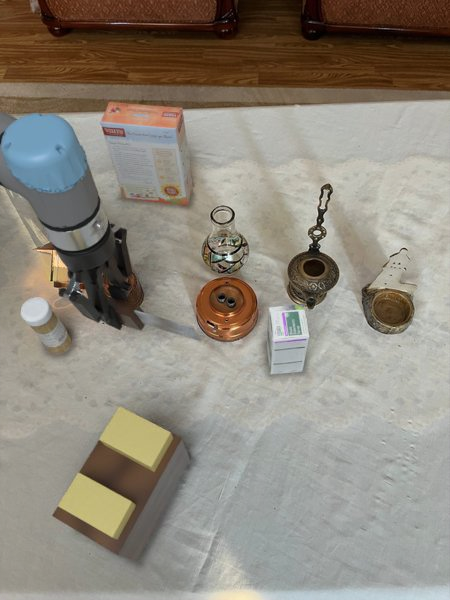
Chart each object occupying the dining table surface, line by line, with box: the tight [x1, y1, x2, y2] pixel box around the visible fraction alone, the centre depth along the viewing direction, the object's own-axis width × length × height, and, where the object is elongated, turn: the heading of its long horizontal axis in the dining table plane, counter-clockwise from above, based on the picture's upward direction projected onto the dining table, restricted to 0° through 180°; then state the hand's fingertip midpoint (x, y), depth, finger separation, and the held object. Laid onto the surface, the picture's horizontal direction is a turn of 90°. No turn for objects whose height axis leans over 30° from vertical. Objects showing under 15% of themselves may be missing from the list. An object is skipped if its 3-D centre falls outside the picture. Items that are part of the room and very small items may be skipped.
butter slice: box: [57, 471, 136, 540], centre depth 66 cm, size 8×4×3 cm, turn 63°
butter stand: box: [51, 432, 192, 562], centre depth 75 cm, size 10×16×14 cm, turn 153°
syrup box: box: [266, 303, 310, 375], centre depth 85 cm, size 6×6×14 cm
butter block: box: [98, 405, 173, 472], centre depth 69 cm, size 8×5×3 cm, turn 63°
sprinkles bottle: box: [20, 296, 73, 355], centre depth 88 cm, size 5×5×13 cm
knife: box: [88, 295, 202, 342], centre depth 81 cm, size 21×2×4 cm, turn 63°
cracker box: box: [100, 101, 194, 206], centre depth 102 cm, size 14×6×21 cm, turn 80°
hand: (119, 317), depth 86 cm, fingers closed on knife, 2 cm apart
